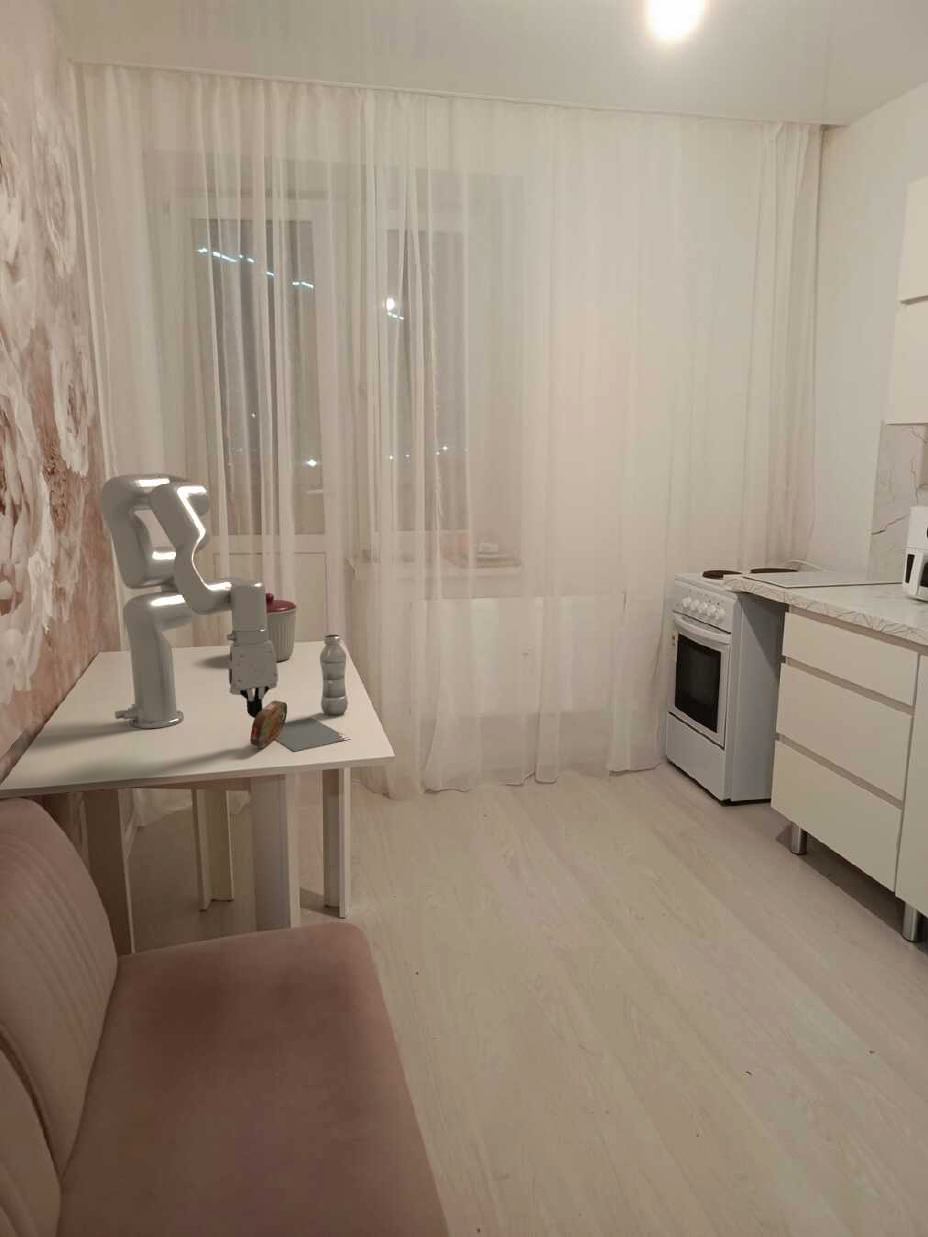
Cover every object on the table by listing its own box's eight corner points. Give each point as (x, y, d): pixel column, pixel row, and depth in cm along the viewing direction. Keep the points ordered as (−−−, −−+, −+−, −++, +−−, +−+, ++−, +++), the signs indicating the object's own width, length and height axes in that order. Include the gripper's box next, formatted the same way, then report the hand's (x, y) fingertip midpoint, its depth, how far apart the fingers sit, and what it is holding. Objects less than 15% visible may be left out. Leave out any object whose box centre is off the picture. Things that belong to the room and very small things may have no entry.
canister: (302, 663, 276) (299, 596, 272) (241, 667, 272) (237, 599, 267) (299, 650, 293) (296, 587, 289) (242, 654, 289) (238, 589, 285)
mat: (294, 752, 197) (294, 751, 197) (258, 729, 213) (258, 728, 213) (350, 739, 205) (350, 738, 205) (311, 718, 221) (311, 717, 221)
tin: (257, 754, 196) (265, 719, 194) (244, 749, 197) (251, 715, 194) (284, 730, 211) (291, 698, 208) (272, 726, 211) (279, 694, 209)
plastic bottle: (318, 711, 227) (315, 634, 223) (345, 708, 229) (342, 632, 225) (324, 718, 221) (321, 639, 217) (351, 715, 223) (348, 637, 219)
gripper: (224, 644, 190) (229, 726, 194) (288, 635, 199) (292, 714, 202) (211, 638, 197) (217, 718, 200) (275, 629, 205) (279, 706, 209)
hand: (255, 715), depth 201 cm, fingers closed
